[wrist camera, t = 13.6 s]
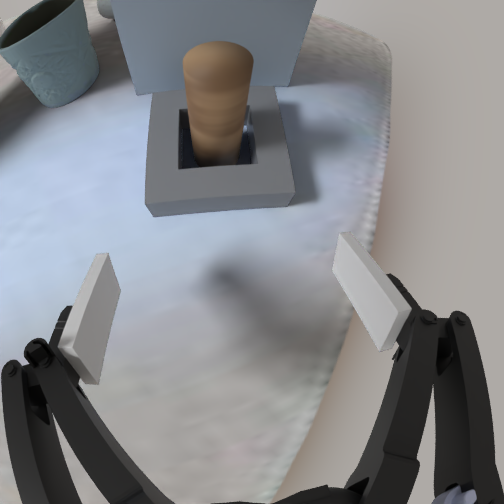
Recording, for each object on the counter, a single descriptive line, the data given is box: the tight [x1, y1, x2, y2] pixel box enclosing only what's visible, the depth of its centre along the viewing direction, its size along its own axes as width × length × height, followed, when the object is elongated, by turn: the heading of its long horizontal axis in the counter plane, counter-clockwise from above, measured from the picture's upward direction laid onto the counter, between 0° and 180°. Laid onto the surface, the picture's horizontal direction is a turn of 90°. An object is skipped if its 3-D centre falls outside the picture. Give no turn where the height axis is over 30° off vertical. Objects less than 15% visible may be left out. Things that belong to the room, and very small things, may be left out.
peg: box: [183, 41, 254, 168], centre depth 18 cm, size 4×4×11 cm
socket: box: [145, 86, 296, 217], centre depth 22 cm, size 11×11×3 cm
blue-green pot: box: [0, 0, 99, 108], centre depth 18 cm, size 10×10×12 cm
